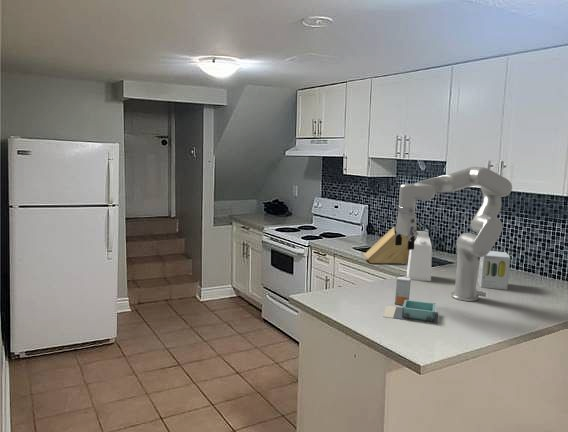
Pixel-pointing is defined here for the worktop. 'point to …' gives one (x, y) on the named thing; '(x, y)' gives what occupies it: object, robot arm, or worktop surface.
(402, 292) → the skincare box
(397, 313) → the mat
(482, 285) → the supplement box
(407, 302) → the teal open tray
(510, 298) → the worktop surface
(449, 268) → the worktop surface
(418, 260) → the milk
